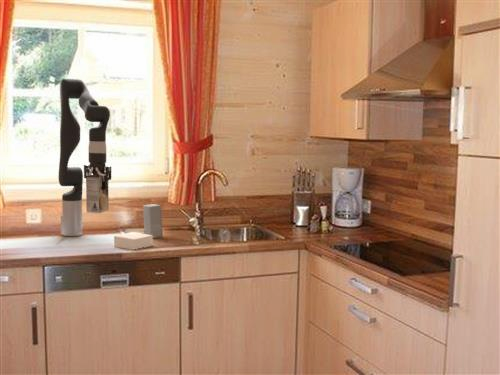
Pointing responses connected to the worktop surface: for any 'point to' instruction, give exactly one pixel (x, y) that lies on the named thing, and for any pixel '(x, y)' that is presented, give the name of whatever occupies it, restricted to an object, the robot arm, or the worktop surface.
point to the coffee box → (96, 195)
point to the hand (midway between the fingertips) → (97, 189)
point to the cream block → (133, 240)
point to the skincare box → (152, 220)
